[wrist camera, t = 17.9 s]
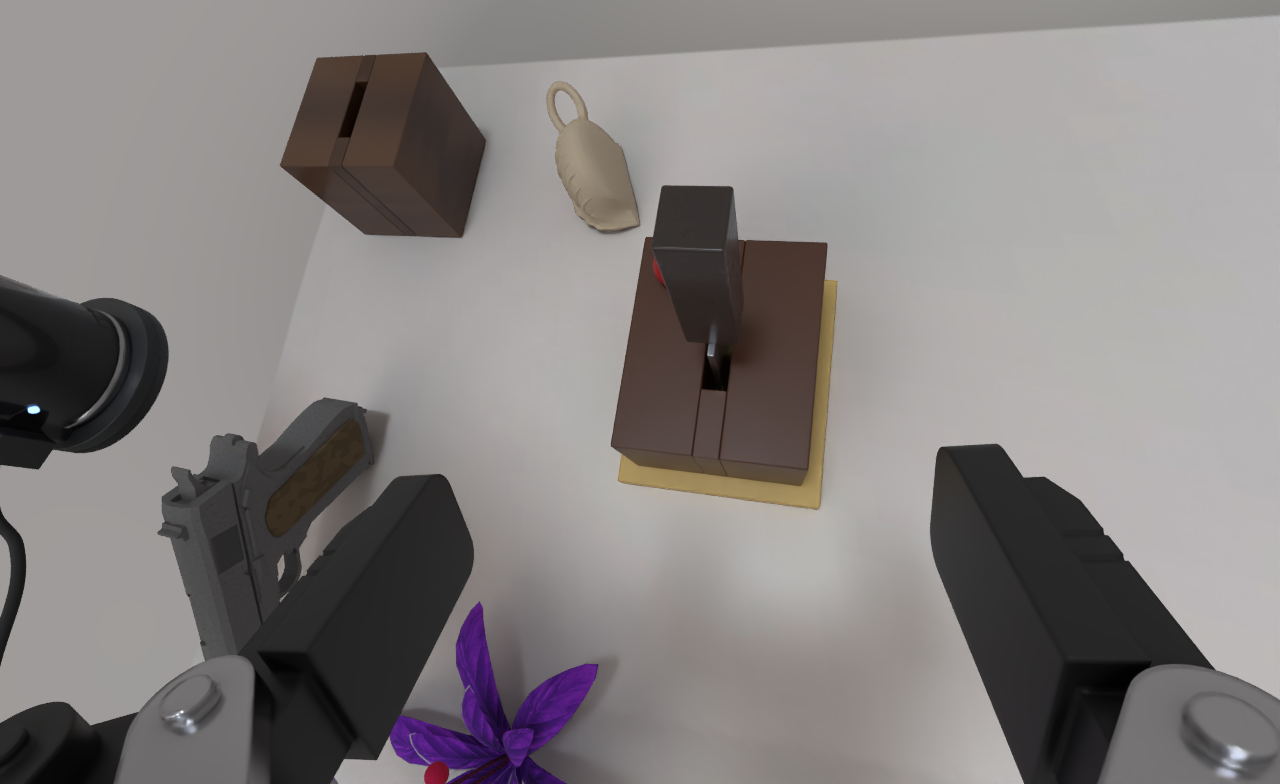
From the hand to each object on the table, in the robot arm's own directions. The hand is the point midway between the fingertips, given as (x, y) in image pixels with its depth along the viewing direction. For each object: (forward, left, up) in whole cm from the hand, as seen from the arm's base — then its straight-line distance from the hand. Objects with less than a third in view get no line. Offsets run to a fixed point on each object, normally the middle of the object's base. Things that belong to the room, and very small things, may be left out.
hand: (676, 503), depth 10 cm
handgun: (-14, +22, -24) cm, 35 cm away
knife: (+8, +5, -23) cm, 24 cm away
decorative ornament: (+17, +19, -24) cm, 34 cm away
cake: (+8, +5, -24) cm, 25 cm away
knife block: (+12, +31, -24) cm, 41 cm away
